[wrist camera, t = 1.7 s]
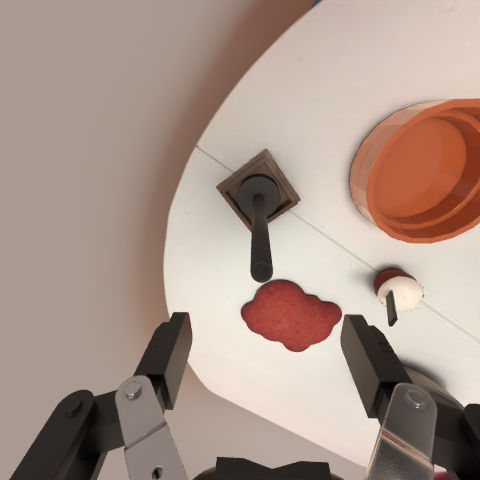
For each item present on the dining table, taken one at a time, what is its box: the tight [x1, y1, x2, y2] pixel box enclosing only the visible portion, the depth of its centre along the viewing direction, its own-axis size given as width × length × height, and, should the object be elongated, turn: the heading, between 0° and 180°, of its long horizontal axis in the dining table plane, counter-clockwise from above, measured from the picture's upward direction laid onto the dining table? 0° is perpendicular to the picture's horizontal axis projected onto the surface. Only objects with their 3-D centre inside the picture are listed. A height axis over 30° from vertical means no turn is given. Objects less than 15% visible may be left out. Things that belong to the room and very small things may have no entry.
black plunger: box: [237, 173, 280, 283], centre depth 27 cm, size 6×6×22 cm
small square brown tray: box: [216, 149, 300, 233], centre depth 36 cm, size 9×9×3 cm
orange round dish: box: [350, 99, 480, 243], centre depth 32 cm, size 17×17×6 cm
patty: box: [241, 280, 342, 352], centre depth 46 cm, size 18×14×2 cm
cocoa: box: [374, 269, 424, 327], centre depth 37 cm, size 10×6×12 cm, turn 53°
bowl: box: [403, 366, 464, 410], centre depth 50 cm, size 12×22×6 cm, turn 62°
